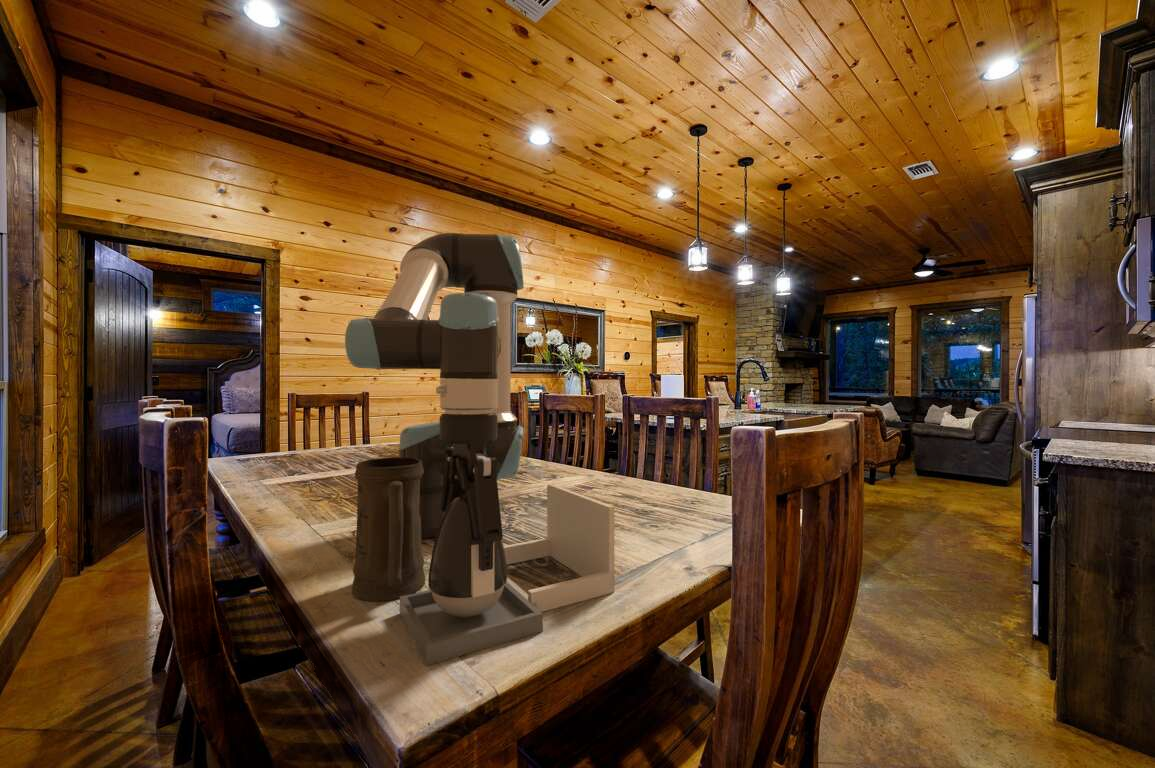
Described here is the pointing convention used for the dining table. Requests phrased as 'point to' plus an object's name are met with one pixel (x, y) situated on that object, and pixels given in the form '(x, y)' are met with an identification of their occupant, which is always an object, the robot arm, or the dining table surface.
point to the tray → (467, 625)
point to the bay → (571, 549)
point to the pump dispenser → (461, 564)
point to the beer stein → (388, 529)
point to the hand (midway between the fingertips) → (468, 579)
